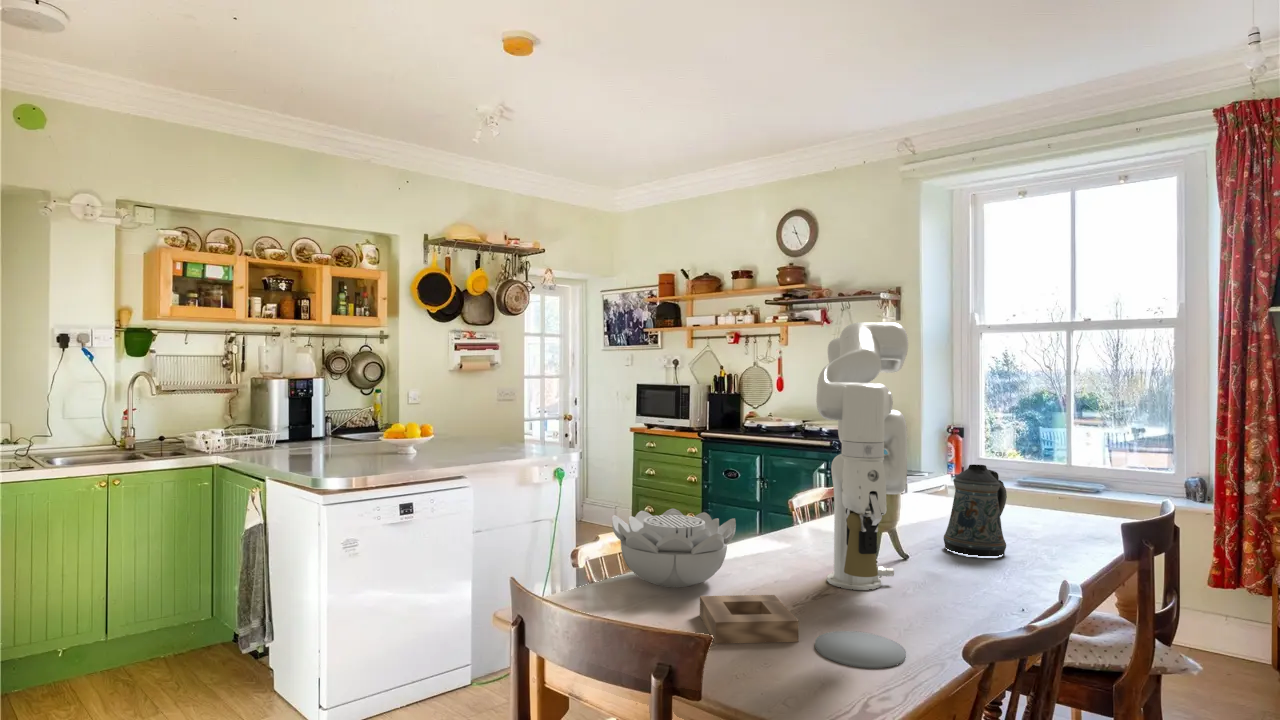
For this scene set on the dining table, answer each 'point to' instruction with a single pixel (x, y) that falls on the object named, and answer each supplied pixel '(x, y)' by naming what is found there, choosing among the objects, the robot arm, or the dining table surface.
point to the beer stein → (977, 513)
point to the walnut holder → (748, 619)
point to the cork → (854, 560)
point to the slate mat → (860, 649)
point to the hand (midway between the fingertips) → (861, 548)
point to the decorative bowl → (673, 546)
